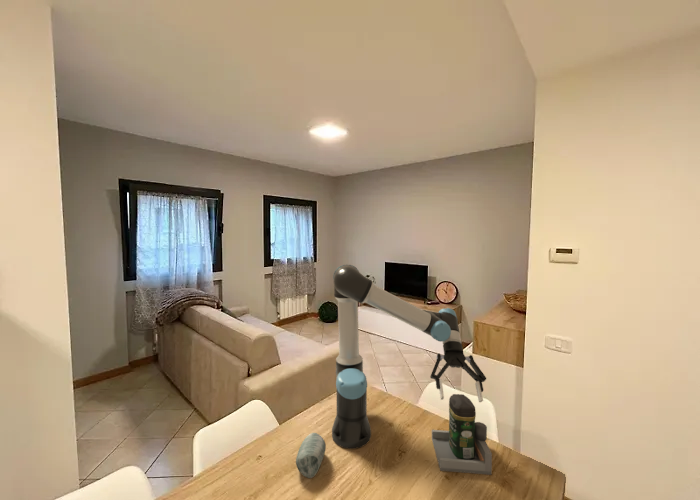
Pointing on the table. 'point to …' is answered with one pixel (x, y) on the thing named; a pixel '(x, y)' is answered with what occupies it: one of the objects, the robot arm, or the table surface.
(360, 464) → the table surface
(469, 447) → the coffee jar
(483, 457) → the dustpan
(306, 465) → the spool
